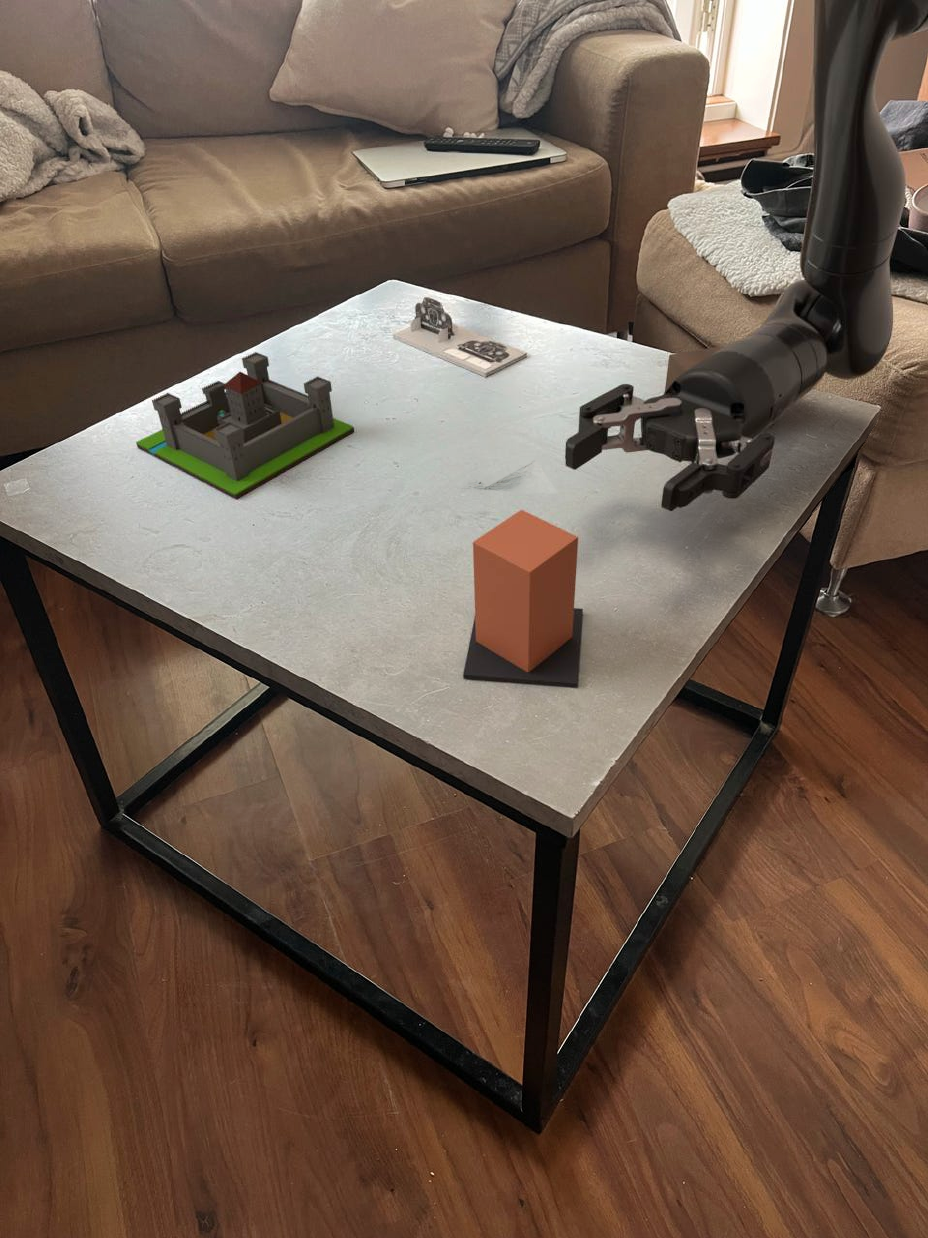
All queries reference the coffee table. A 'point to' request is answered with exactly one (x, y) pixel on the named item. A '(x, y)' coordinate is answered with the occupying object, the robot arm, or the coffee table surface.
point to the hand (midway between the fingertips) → (616, 477)
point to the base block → (686, 363)
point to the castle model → (245, 429)
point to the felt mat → (551, 671)
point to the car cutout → (456, 341)
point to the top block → (524, 589)
